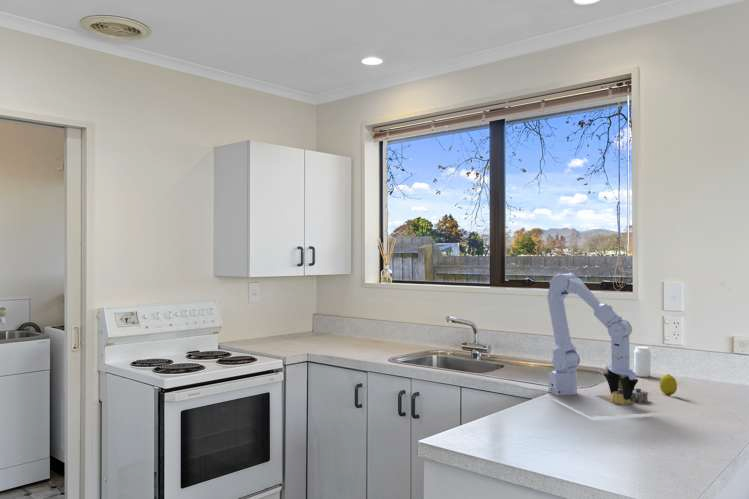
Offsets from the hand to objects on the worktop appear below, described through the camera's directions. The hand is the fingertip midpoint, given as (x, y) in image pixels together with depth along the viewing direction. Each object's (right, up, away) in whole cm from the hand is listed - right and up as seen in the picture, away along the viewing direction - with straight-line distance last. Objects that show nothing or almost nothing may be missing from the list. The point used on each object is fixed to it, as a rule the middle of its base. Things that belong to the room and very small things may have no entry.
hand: (620, 396), depth 203 cm
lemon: (+21, -3, +11) cm, 24 cm away
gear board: (+2, -3, +3) cm, 5 cm away
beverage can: (+27, -3, +44) cm, 52 cm away
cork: (+9, -3, +22) cm, 24 cm away
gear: (0, -2, 0) cm, 2 cm away
